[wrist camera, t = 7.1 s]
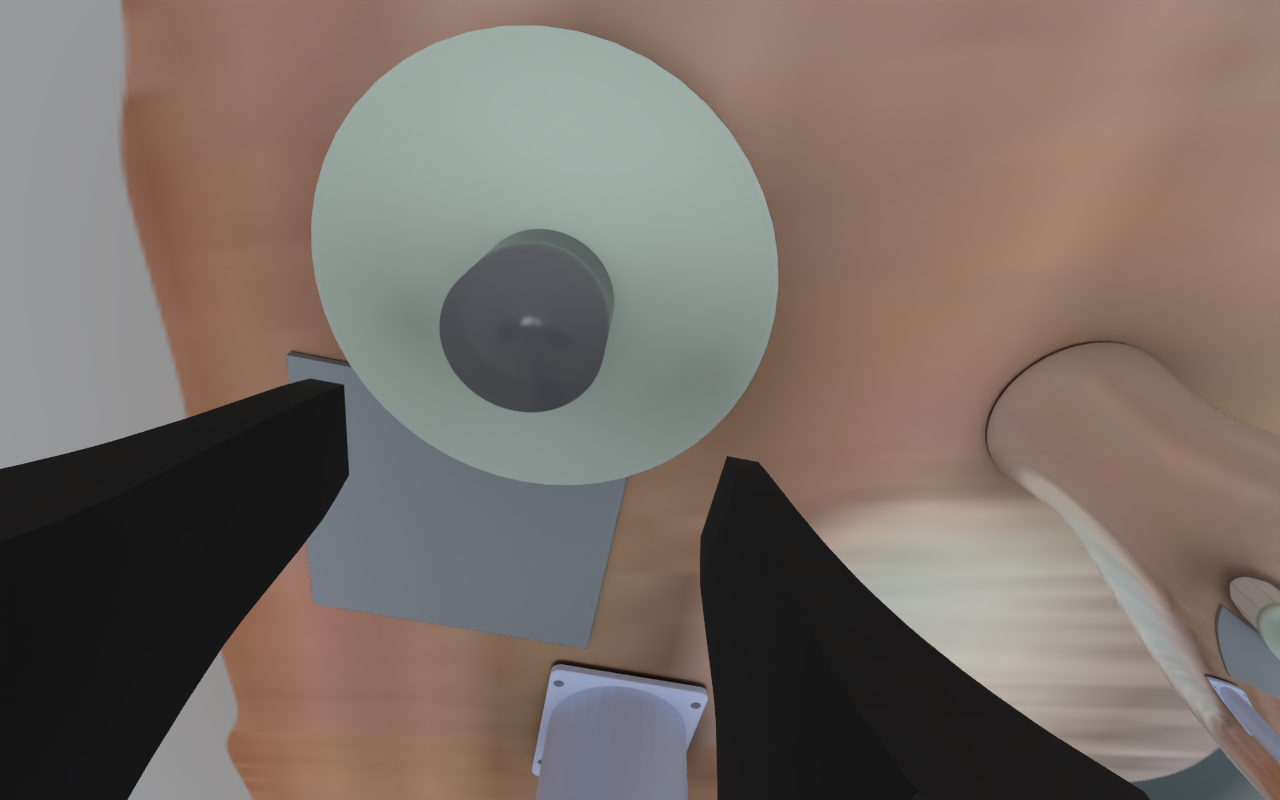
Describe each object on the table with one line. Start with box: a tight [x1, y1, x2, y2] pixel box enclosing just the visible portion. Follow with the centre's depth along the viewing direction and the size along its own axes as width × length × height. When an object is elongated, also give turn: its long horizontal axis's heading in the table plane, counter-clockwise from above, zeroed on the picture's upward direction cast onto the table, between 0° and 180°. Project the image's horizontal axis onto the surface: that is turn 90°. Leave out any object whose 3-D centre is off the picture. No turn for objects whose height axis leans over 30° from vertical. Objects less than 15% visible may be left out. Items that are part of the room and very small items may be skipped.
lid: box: [311, 26, 778, 485], centre depth 14 cm, size 12×12×3 cm
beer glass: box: [987, 342, 1280, 800], centre depth 14 cm, size 7×7×15 cm
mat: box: [286, 352, 627, 649], centre depth 24 cm, size 13×13×1 cm
